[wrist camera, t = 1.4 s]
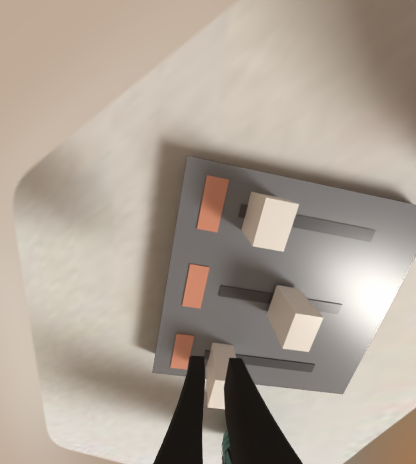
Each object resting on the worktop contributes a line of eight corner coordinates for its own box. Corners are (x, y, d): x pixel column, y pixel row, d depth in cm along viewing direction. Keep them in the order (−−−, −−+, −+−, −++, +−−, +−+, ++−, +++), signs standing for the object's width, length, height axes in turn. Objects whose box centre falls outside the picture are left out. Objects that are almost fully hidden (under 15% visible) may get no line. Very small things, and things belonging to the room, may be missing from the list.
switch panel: (414, 205, 18) (505, 220, 12) (331, 375, 23) (369, 435, 18) (188, 157, 16) (183, 150, 11) (156, 354, 21) (142, 414, 16)
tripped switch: (299, 288, 17) (323, 317, 14) (288, 318, 18) (308, 351, 14) (276, 285, 17) (295, 313, 13) (266, 314, 18) (282, 348, 14)
